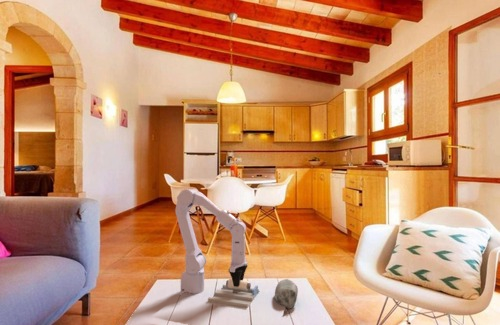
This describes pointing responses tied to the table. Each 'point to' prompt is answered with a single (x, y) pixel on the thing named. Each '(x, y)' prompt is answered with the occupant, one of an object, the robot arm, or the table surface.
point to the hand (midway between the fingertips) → (238, 284)
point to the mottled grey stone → (286, 293)
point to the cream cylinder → (242, 286)
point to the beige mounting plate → (234, 297)
